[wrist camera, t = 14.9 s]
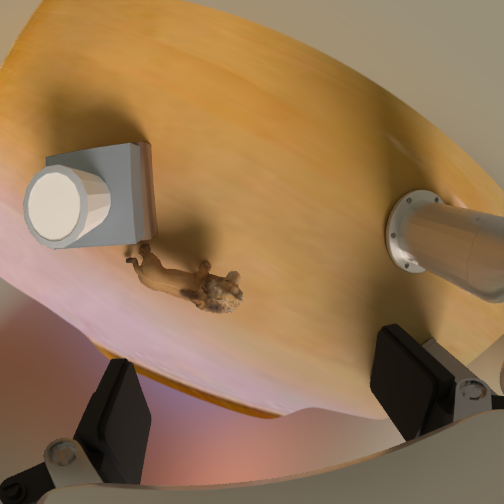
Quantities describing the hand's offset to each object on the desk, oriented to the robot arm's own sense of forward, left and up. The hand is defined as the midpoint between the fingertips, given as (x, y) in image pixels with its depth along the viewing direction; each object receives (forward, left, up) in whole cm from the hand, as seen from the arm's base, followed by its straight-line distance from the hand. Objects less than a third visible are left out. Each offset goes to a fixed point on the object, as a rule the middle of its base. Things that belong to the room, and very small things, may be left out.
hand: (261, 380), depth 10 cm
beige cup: (+14, -6, -20) cm, 26 cm away
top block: (+14, -7, -24) cm, 29 cm away
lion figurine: (+6, +4, -29) cm, 29 cm away
